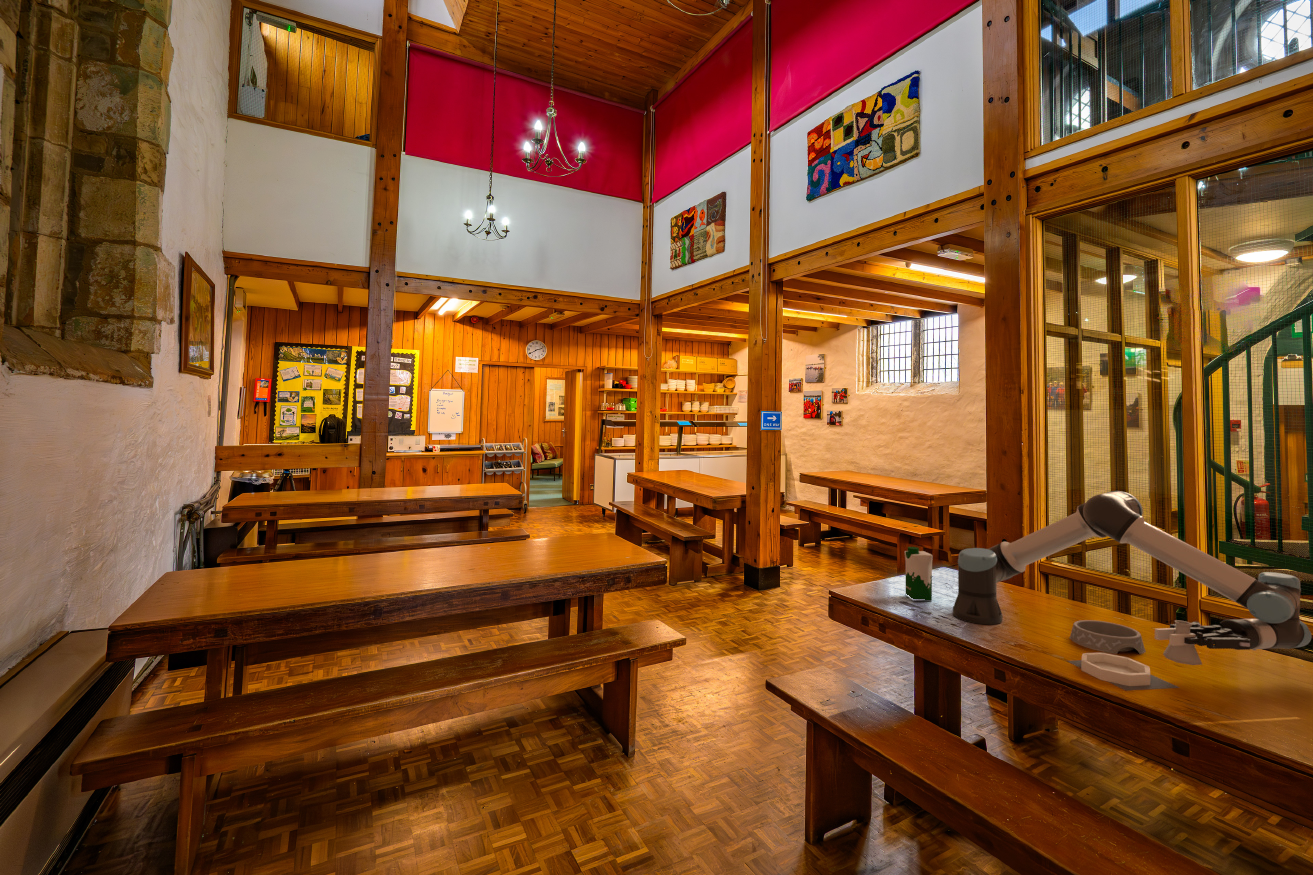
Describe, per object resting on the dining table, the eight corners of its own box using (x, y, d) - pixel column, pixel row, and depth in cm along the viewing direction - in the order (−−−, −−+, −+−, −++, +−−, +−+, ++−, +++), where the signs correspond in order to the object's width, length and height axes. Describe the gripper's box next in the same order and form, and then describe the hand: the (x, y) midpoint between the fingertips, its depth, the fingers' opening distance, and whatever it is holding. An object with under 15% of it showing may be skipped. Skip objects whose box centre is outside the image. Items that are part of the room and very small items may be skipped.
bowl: (1068, 663, 155) (1068, 653, 155) (1115, 661, 157) (1115, 651, 157) (1114, 686, 141) (1114, 675, 141) (1164, 684, 143) (1164, 673, 143)
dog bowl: (1056, 635, 179) (1056, 618, 179) (1114, 635, 179) (1114, 618, 179) (1096, 656, 162) (1096, 638, 162) (1161, 656, 162) (1161, 638, 161)
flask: (1209, 667, 141) (1210, 628, 141) (1175, 664, 142) (1176, 626, 142) (1188, 655, 148) (1189, 618, 148) (1156, 653, 149) (1157, 616, 149)
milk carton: (902, 595, 222) (902, 545, 222) (925, 595, 222) (925, 545, 222) (912, 602, 213) (912, 550, 213) (935, 602, 213) (935, 550, 213)
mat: (1066, 662, 157) (1066, 660, 157) (1115, 659, 159) (1115, 658, 159) (1125, 691, 139) (1125, 690, 139) (1179, 688, 141) (1179, 687, 141)
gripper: (1281, 661, 139) (1196, 664, 137) (1211, 636, 155) (1133, 639, 153) (1282, 631, 138) (1196, 634, 136) (1211, 609, 155) (1134, 612, 152)
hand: (1163, 636), depth 145 cm, fingers closed on flask, 3 cm apart
